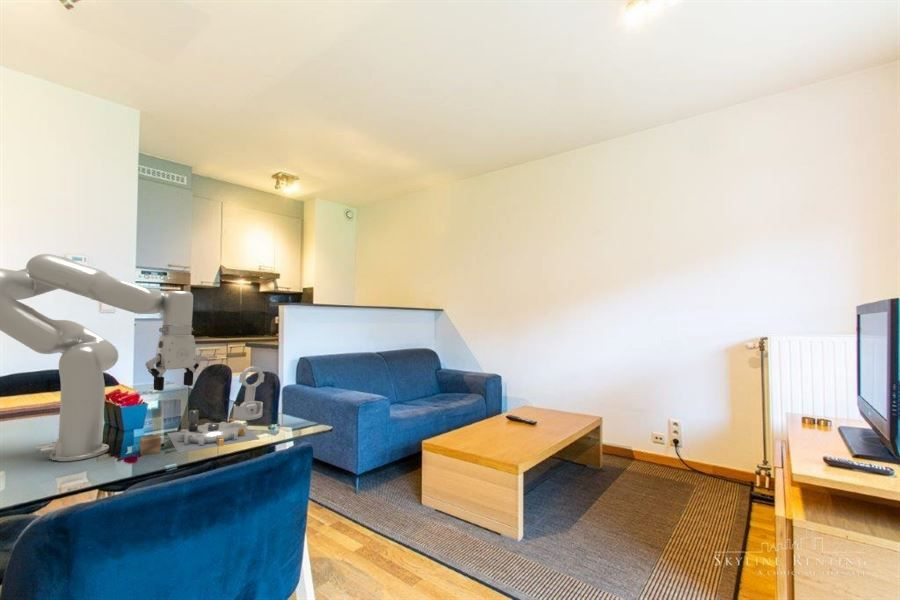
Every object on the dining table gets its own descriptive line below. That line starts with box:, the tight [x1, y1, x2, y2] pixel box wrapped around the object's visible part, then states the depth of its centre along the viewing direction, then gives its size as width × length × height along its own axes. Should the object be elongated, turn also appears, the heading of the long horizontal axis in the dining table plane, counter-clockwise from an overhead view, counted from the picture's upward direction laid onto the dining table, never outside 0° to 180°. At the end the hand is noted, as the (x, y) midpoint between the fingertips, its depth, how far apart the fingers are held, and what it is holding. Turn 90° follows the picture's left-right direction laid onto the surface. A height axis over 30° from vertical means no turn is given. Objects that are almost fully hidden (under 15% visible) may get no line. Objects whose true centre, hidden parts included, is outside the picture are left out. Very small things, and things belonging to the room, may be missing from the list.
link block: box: [139, 433, 162, 456], centre depth 118 cm, size 4×4×6 cm
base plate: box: [166, 422, 260, 454], centre depth 134 cm, size 22×23×3 cm
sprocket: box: [178, 409, 247, 445], centre depth 134 cm, size 19×19×8 cm
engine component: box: [232, 365, 265, 421], centre depth 159 cm, size 11×20×10 cm
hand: (173, 387), depth 127 cm, fingers open, 9 cm apart
